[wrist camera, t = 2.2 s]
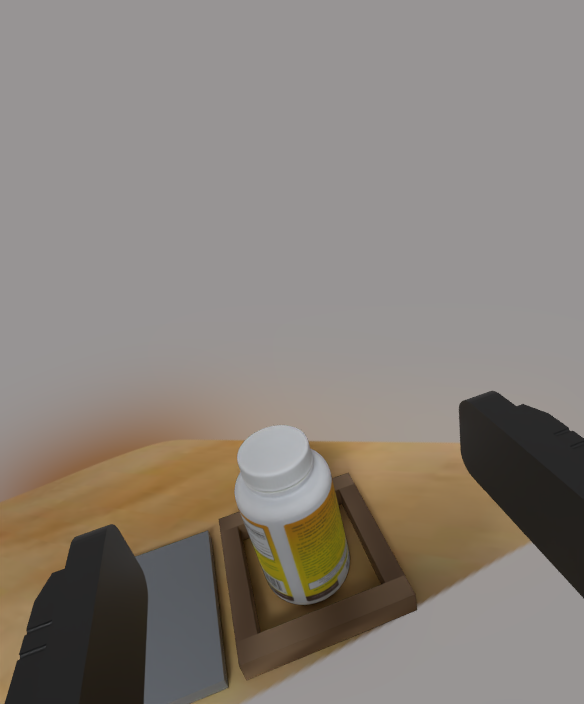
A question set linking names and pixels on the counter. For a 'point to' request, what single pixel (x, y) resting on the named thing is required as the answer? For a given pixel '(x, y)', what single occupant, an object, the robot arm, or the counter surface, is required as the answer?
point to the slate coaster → (183, 623)
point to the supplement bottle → (292, 515)
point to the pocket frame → (326, 622)
